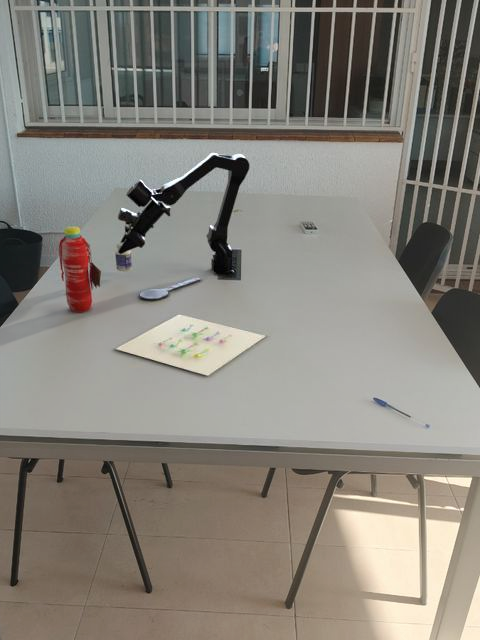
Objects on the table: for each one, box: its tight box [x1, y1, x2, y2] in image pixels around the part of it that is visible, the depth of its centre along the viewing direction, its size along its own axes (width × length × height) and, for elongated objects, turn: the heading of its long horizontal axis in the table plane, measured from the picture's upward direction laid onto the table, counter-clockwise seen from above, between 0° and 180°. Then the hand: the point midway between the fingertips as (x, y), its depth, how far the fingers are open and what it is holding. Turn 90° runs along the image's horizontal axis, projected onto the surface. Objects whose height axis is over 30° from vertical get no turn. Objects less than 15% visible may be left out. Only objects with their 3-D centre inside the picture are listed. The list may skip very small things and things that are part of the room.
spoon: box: [139, 277, 201, 302], centre depth 232 cm, size 26×8×1 cm, turn 139°
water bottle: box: [58, 226, 102, 313], centre depth 210 cm, size 12×8×25 cm, turn 94°
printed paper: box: [115, 314, 266, 377], centre depth 194 cm, size 30×30×2 cm
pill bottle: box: [115, 241, 133, 272], centre depth 240 cm, size 5×5×9 cm
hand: (118, 250), depth 239 cm, fingers closed on pill bottle, 5 cm apart
